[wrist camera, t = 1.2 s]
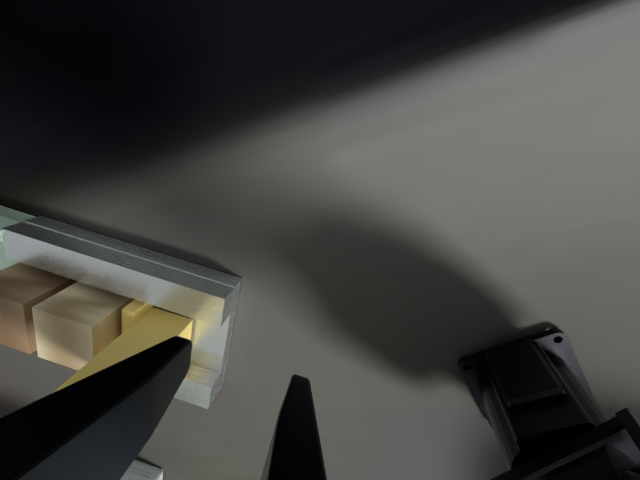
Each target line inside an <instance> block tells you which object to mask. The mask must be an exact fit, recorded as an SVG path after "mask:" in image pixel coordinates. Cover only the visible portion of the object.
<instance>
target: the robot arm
mask: <svg viewBox="0 0 640 480" xmlns="http://www.w3.org/2000/svg"><path fill="white" fill-rule="evenodd" d="M557 336H559V337H558V338H557V339H554V338H555V337H557ZM191 352H192V341H191V340H189V339H186V338H183V337H180V336H173V337H171V338H169V339H167V340H165V341H163V342H160V343H158V344H156V345H154V346H152V347H150V348H148V349H145V350H143V351H141V352H139V353H137V354H135V355H133V356H130V357H128V358H126V359H124V360H122V361H120V362H118V363H116V364H113V365H111V366H109V367H107V368H105V369H103V370H101V371H98V372H96V373H94V374H92V375H90V376H88V377H86V378H84V379H81V380H79V381H77V382H75V383H73V384H71V385H69V386H66V387H64V388H62V389H60V390H58V391H56V392H54V393H51V394H49V395H47V396H45V397H43V398H41V399H39V400H37V401H34V402H32V403H30V404H28V405H26V406H24V407H22V408H19V409H17V410H15V411H13V412H11V413H9V414H7V415H5V416H2V417H0V480H120V479H121V478H122V476H123V475H124V474H125V472H126V471H127V469H128V468H129V467H130V465H131V464H132V462H133V461H134V460H135V458H136V457H137V455H138V454H139V453H140V451H141V450H142V448H143V447H144V446H145V444H146V443H147V441H148V440H149V438H150V437H151V435H152V433H153V432H154V430H155V428H156V427H157V425H158V423H159V422H160V420H161V418H162V416H163V415H164V413H165V411H166V409H167V408H168V406H169V404H170V403H171V401H172V399H173V397H174V396H175V394H176V392H177V390H178V389H179V387H180V385H181V383H182V382H183V380H184V378H185V377H186V375H187V373H188V370H189V367H190V361H191ZM465 364H469V365H468V366H464V365H465ZM458 365H459V369H460V371H461V373H462V374H463V376H464V378H465V380H466V382H467V383H468V385H469V387H470V389H471V391H472V392H473V394H474V396H475V398H476V400H477V402H478V403H479V405H480V407H481V409H482V411H483V412H484V414H485V416H486V418H487V420H488V421H489V423H490V425H491V427H492V428H493V430H494V433H495V436H496V438H497V441H498V444H499V447H500V450H501V452H502V455H503V458H504V461H505V464H506V466H507V469H508V471H506V472H504V473H502V474H500V475H498V476H496V477H494V478H492V479H490V480H640V418H639V417H637V416H636V415H635V414H634V413H633V412H632V411H630V410H629V409H628V408H625V409H623V410H621V411H619V412H617V413H615V414H616V415H617V416H615V417H613V418H611V419H610V418H609V416H608V415H607V414H606V412H605V411H604V410H603V408H602V407H601V406H600V404H599V403H598V402H597V400H596V399H595V398H594V396H593V395H592V393H591V390H590V388H589V386H588V384H587V381H586V379H585V377H584V374H583V372H582V370H581V368H580V365H579V363H578V361H577V358H576V356H575V354H574V352H573V349H572V347H571V345H570V342H569V340H568V338H567V336H566V335H565V334H564V333H563V331H562V330H560V329H551V330H548V331H545V332H542V333H539V334H536V335H532V336H529V337H526V338H523V339H520V340H516V341H513V342H510V343H507V344H504V345H501V346H497V347H494V348H491V349H488V350H485V351H481V352H478V353H475V354H472V355H469V356H466V357H463V358H461V359H459V361H458ZM261 480H327V478H326V472H325V467H324V461H323V455H322V449H321V444H320V438H319V432H318V426H317V421H316V415H315V409H314V403H313V398H312V392H311V386H310V381H309V379H308V378H305V377H302V376H299V375H296V374H294V375H293V376H292V377H291V380H290V383H289V386H288V389H287V392H286V395H285V398H284V400H283V403H282V406H281V409H280V412H279V415H278V419H277V422H276V426H275V429H274V433H273V437H272V440H271V444H270V448H269V451H268V455H267V458H266V462H265V466H264V469H263V473H262V477H261Z"/></svg>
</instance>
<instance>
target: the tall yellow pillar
mask: <svg viewBox="0 0 640 480" xmlns="http://www.w3.org/2000/svg"><path fill="white" fill-rule="evenodd" d="M192 321H193V320H191V319H188V318H185V317H182V316H179V315H176V314H172V313H169V312H166V311H163V310H160V309H157V308H154V307H153V305H150V304H147V303H144V302H141V301H138V300H133V301H132V302H131V303H129V304H128V305H127V306H125V307H124V308H123V309H122V334H121V335H120V336H119V337H117V338H116V339H115V340H114V341H113V342H112V343H110V344H109V345H108V346H107V347H106V348H105V349H103V350H102V351H101V352H100V353H99V354H98V355H96V356H95V357H94V358H93V359H92V360H90V361H89V362H88V363H87V364H86V365H85V366H83V367H82V368H81V369H80V370H79V371H78V372H76V373H75V374H74V375H73V376H72V377H71V378H69V379H68V380H67V381H66V382H65V383H63V384H62V385H61V386H60V387H59V388H58V389H56V390H55V391H54V392H56V391H58V390H60V389H62V388H64V387H66V386H69V385H71V384H73V383H75V382H77V381H79V380H81V379H84V378H86V377H88V376H90V375H92V374H94V373H96V372H98V371H101V370H103V369H105V368H107V367H109V366H111V365H113V364H116V363H118V362H120V361H122V360H124V359H126V358H128V357H130V356H133V355H135V354H137V353H139V352H141V351H143V350H145V349H148V348H150V347H152V346H154V345H156V344H158V343H160V342H163V341H165V340H167V339H169V338H171V337H173V336H180V337H183V338H186V339H189V340H191V331H192ZM54 392H53V393H54Z"/></svg>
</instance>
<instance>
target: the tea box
mask: <svg viewBox="0 0 640 480" xmlns="http://www.w3.org/2000/svg"><path fill="white" fill-rule="evenodd" d="M120 480H163V469H161V468H158V467H155V466H152V465H149V464H146V463H143V462H140V461H137V460H134V461H133V462H132V464H131V465H130V467H129V468H128V469H127V471H126V472H125V474H124V475H123V476H122V478H121V479H120Z"/></svg>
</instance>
